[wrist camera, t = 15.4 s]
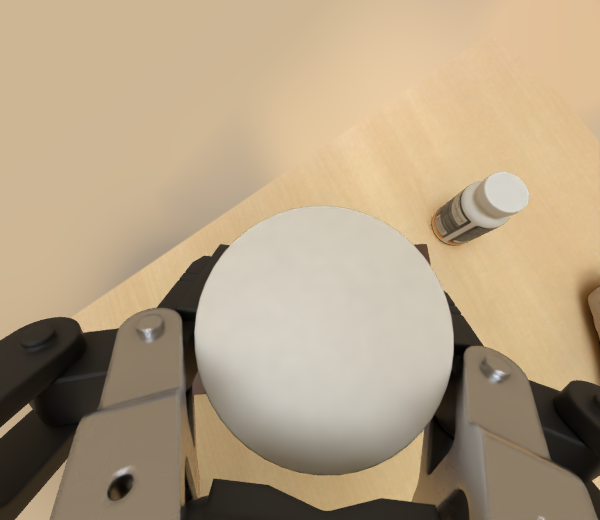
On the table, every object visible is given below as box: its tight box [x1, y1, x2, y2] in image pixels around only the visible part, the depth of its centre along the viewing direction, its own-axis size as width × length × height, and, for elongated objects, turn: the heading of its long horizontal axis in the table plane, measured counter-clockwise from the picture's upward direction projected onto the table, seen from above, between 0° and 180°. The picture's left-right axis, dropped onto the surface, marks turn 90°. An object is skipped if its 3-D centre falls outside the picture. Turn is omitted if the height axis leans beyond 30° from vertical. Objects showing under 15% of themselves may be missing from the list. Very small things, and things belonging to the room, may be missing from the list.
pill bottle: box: [432, 172, 529, 245], centre depth 31 cm, size 6×6×10 cm
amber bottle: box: [194, 206, 454, 475], centre depth 11 cm, size 6×6×10 cm
